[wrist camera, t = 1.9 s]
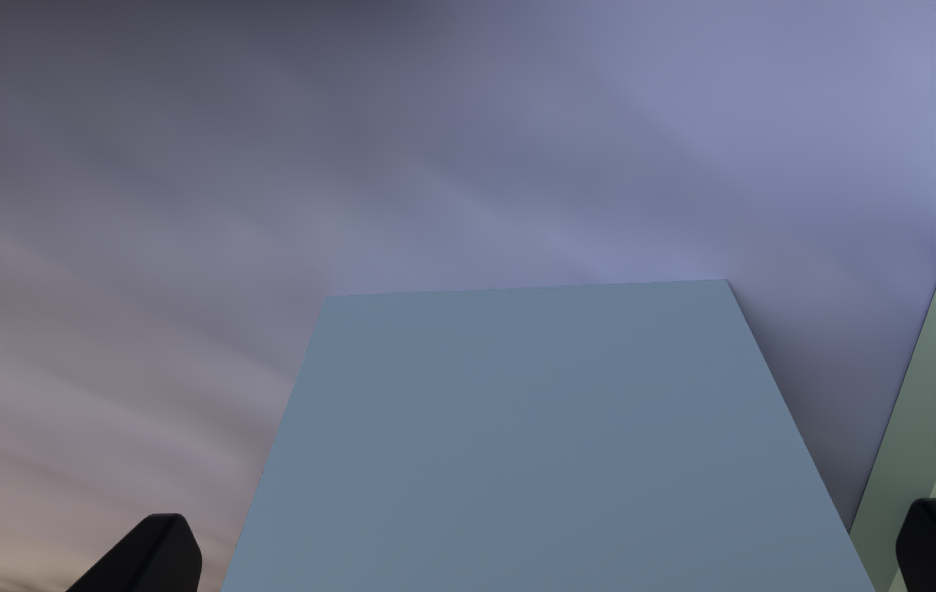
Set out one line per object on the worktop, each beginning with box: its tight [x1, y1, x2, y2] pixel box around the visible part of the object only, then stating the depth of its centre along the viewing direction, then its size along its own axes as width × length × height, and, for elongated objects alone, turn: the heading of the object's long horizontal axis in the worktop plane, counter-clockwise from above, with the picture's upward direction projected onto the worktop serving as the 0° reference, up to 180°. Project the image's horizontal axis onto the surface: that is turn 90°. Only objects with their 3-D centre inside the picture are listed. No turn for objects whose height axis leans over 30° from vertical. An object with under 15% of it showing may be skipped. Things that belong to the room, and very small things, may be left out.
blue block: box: [220, 279, 876, 592], centre depth 8 cm, size 5×5×5 cm
